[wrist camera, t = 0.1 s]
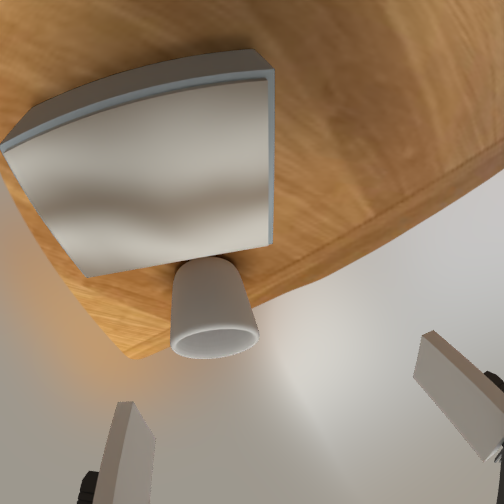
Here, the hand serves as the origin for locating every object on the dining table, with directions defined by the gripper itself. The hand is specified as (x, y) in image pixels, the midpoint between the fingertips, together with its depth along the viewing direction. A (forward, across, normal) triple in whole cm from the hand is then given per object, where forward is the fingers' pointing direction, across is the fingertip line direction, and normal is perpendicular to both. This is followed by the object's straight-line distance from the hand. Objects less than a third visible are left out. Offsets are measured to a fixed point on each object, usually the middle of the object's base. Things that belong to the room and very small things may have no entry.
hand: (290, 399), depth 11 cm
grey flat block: (+11, -5, +11) cm, 16 cm away
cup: (+20, -4, -2) cm, 21 cm away
